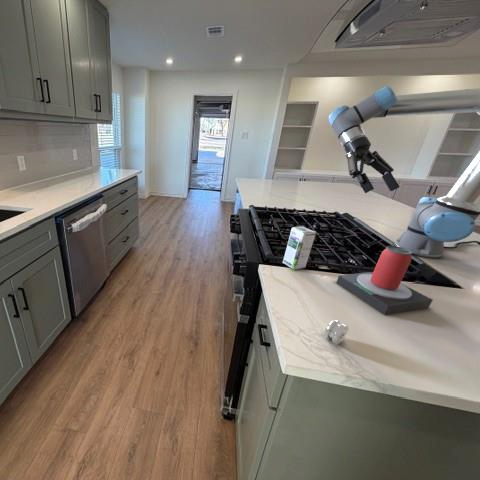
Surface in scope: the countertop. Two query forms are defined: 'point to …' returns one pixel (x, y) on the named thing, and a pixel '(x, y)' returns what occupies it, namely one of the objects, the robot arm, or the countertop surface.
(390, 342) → the countertop surface
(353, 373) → the countertop surface
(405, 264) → the beer can
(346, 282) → the kitchen scale
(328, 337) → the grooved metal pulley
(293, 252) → the syrup box
